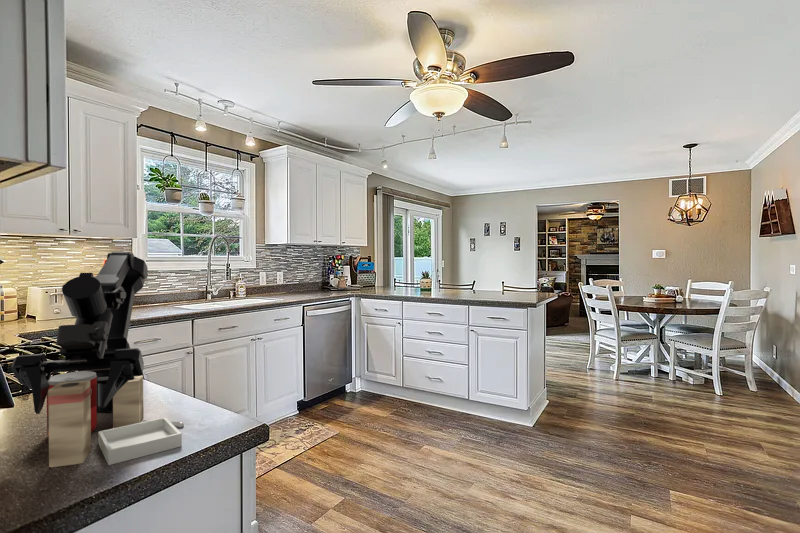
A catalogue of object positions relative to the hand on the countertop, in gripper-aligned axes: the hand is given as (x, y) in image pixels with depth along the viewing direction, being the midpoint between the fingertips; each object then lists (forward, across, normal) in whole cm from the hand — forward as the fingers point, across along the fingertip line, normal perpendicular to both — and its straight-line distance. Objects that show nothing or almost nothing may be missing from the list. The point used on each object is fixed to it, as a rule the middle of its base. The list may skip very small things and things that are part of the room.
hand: (70, 409), depth 73 cm
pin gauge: (-2, +12, +14) cm, 18 cm away
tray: (+4, +10, +8) cm, 13 cm away
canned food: (-4, -4, +16) cm, 16 cm away
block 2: (-5, +5, +17) cm, 19 cm away
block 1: (+6, 0, +6) cm, 8 cm away
